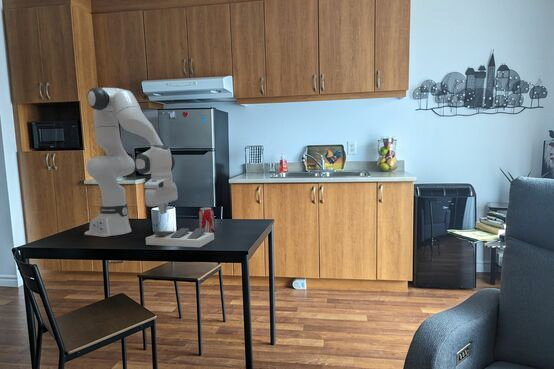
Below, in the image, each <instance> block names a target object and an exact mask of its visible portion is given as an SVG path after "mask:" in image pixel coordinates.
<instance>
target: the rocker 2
mask: <svg viewBox="0 0 554 369" xmlns="http://www.w3.org/2000/svg"><path fill="white" fill-rule="evenodd" d="M192 232H193V233H192V234H191V235H190V236H189V237H188V238H187V239H197V238H199V237H201V236H202V235H203V234H204V233H205V229H202V228H200V227H198V228H195V229H194V230H193V231H192Z"/></svg>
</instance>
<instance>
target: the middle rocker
mask: <svg viewBox="0 0 554 369" xmlns="http://www.w3.org/2000/svg"><path fill="white" fill-rule="evenodd" d="M176 231H177V232H176V233H175V234H173V235H172V236H171V238H181V237H183V236H185V235H186V234H187V233H188V232H190V229H189V228H188V227H187V228H185V227H180V228H179V229H178V230H176Z"/></svg>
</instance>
